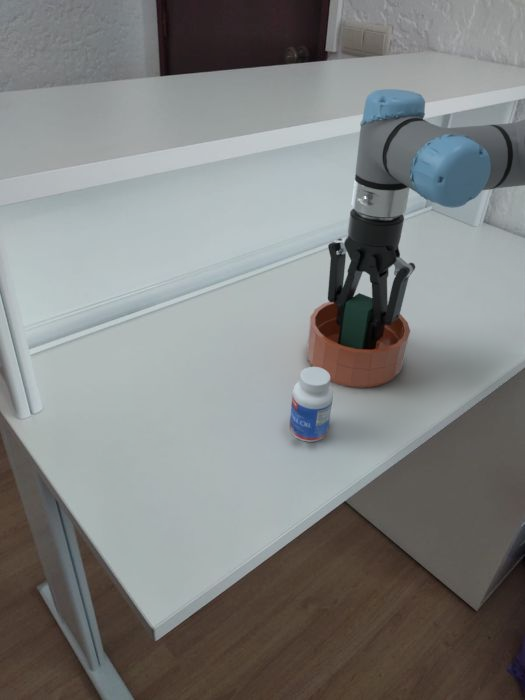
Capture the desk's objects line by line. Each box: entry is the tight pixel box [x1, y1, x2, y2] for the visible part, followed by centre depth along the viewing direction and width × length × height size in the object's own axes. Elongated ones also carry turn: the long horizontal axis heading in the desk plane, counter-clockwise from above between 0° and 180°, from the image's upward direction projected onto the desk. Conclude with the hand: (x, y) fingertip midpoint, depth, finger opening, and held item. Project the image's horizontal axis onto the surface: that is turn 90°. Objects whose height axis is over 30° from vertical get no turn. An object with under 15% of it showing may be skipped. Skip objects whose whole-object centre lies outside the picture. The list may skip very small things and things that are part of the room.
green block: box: [340, 292, 373, 349], centre depth 92 cm, size 4×4×9 cm
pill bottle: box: [289, 366, 334, 443], centre depth 78 cm, size 6×5×10 cm
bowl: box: [306, 301, 411, 389], centre depth 94 cm, size 16×16×7 cm
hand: (356, 348), depth 94 cm, fingers closed on green block, 4 cm apart
